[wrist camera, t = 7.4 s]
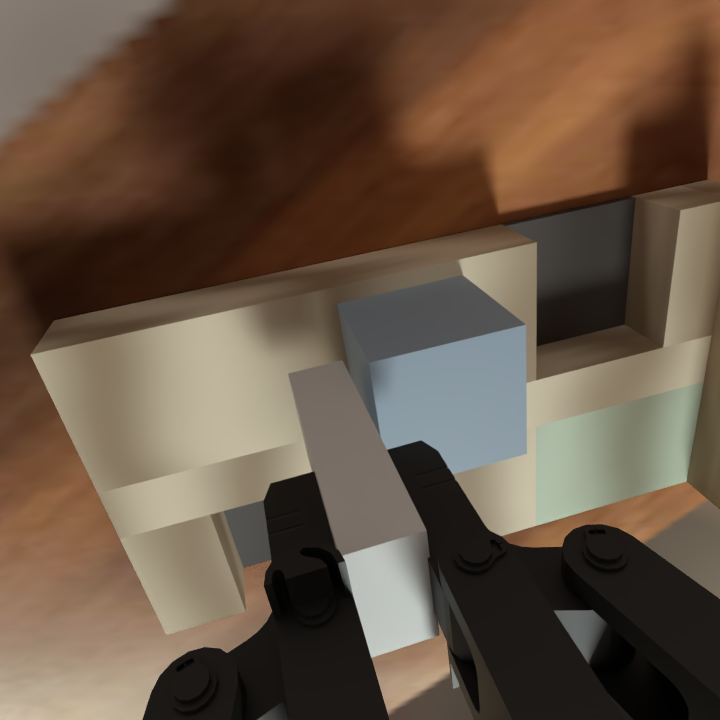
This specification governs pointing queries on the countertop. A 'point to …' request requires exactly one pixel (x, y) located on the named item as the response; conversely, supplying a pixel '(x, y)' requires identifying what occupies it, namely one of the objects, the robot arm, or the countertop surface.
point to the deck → (325, 345)
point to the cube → (441, 370)
